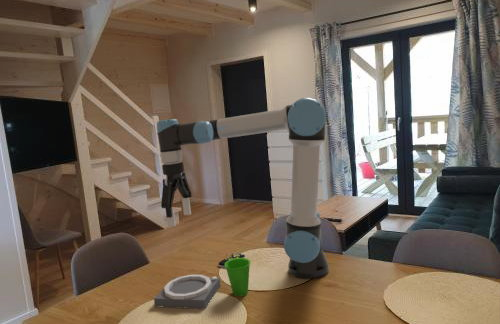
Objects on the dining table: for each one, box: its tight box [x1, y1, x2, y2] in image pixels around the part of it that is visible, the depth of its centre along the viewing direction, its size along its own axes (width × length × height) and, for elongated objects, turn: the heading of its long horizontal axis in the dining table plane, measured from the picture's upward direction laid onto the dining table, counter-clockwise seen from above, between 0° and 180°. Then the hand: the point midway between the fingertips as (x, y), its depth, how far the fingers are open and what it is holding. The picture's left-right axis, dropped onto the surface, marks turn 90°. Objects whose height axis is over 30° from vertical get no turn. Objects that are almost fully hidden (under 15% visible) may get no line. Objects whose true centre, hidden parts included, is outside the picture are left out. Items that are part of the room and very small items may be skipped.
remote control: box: [218, 252, 246, 269], centre depth 156 cm, size 6×13×2 cm, turn 147°
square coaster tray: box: [153, 274, 221, 310], centre depth 129 cm, size 18×16×4 cm
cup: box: [224, 257, 251, 297], centre depth 127 cm, size 9×9×11 cm
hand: (180, 220), depth 134 cm, fingers open, 13 cm apart
